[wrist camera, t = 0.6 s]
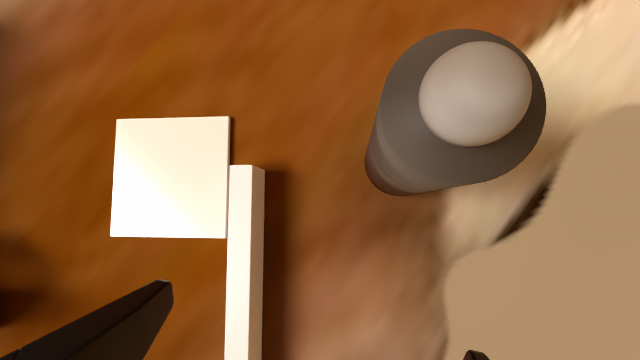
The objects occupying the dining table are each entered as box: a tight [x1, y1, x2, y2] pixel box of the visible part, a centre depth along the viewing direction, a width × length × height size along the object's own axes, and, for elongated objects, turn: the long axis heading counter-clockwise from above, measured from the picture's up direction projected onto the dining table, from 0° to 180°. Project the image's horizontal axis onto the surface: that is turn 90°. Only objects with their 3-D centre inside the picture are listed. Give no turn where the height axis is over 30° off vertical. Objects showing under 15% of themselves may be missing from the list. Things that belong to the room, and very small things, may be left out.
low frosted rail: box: [225, 165, 265, 360], centre depth 21 cm, size 15×2×3 cm, turn 0°
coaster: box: [110, 117, 231, 238], centre depth 24 cm, size 9×9×1 cm
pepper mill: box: [365, 29, 546, 196], centre depth 15 cm, size 5×5×15 cm
